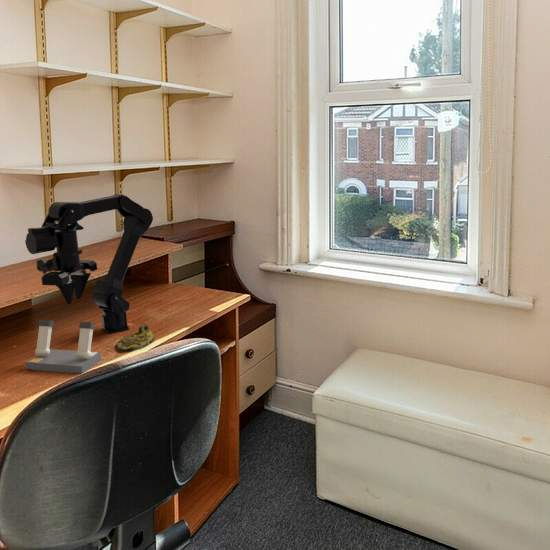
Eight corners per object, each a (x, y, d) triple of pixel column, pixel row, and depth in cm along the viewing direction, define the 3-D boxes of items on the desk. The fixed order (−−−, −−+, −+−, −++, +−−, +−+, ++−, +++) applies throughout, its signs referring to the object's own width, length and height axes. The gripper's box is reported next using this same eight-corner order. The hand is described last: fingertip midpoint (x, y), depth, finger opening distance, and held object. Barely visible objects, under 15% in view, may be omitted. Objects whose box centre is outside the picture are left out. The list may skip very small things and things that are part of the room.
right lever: (79, 357, 144) (83, 322, 146) (90, 358, 144) (94, 323, 145) (75, 357, 143) (79, 321, 144) (86, 358, 142) (91, 322, 143)
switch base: (47, 355, 151) (46, 348, 151) (101, 359, 148) (100, 352, 147) (26, 369, 143) (25, 361, 142) (82, 373, 139) (81, 365, 139)
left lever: (38, 354, 147) (43, 320, 148) (49, 355, 146) (53, 320, 148) (34, 354, 145) (39, 319, 147) (45, 355, 145) (49, 320, 146)
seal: (138, 358, 152) (162, 338, 166) (138, 342, 150) (162, 323, 164) (107, 352, 154) (133, 333, 168) (107, 336, 152) (133, 318, 166)
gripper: (61, 240, 165) (67, 291, 169) (20, 254, 148) (28, 310, 152) (95, 241, 163) (100, 292, 167) (57, 255, 145) (64, 312, 149)
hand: (74, 301), depth 159 cm, fingers open, 4 cm apart
